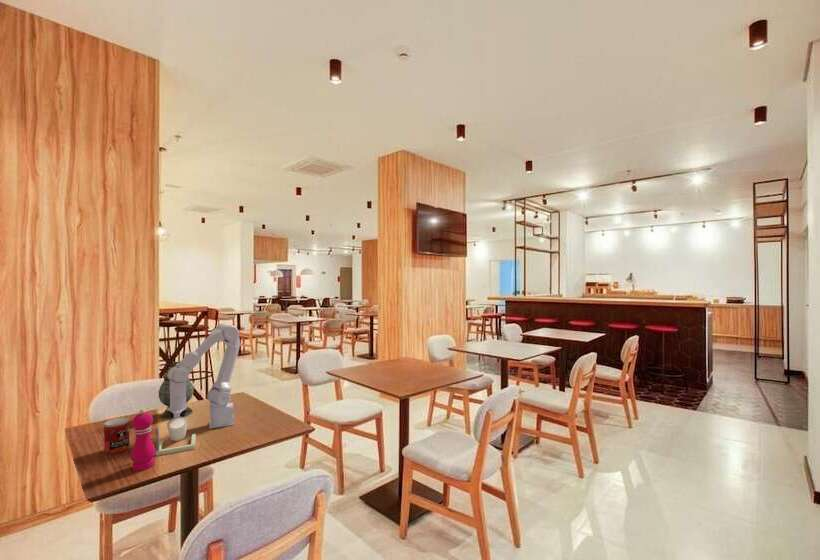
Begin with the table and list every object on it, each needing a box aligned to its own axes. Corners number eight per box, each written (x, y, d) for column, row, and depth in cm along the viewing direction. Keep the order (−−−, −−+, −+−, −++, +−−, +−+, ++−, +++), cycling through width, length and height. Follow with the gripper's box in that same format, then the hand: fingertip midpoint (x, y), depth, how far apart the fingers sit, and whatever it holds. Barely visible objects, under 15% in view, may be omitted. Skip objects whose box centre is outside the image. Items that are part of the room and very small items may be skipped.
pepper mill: (138, 462, 139) (137, 406, 139) (160, 461, 140) (159, 405, 139) (125, 472, 132) (124, 413, 132) (148, 471, 132) (147, 412, 132)
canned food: (110, 456, 143) (109, 426, 143) (100, 451, 148) (100, 422, 147) (133, 448, 150) (133, 420, 150) (124, 443, 154) (123, 416, 154)
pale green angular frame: (195, 437, 160) (195, 413, 159) (194, 448, 149) (193, 422, 149) (152, 444, 153) (152, 419, 153) (148, 457, 142) (147, 430, 142)
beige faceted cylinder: (179, 444, 155) (179, 431, 152) (163, 439, 156) (163, 426, 153) (191, 431, 162) (191, 419, 159) (176, 426, 162) (175, 414, 159)
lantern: (152, 419, 180) (151, 365, 179) (171, 408, 194) (170, 358, 194) (182, 419, 179) (181, 365, 179) (199, 408, 194) (198, 358, 193)
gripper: (168, 392, 165) (169, 424, 165) (164, 403, 152) (165, 437, 152) (187, 390, 168) (188, 422, 168) (185, 400, 155) (185, 434, 155)
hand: (178, 429), depth 161 cm, fingers closed, pressing on beige faceted cylinder
